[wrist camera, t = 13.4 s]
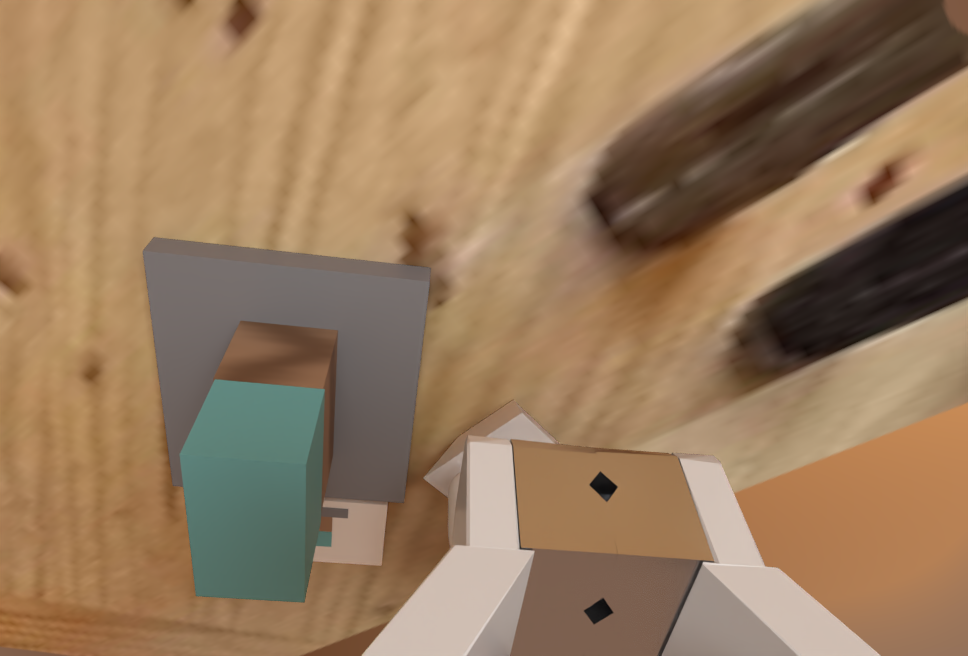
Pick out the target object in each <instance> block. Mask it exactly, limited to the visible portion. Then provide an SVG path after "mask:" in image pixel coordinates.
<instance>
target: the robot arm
mask: <svg viewBox="0 0 968 656" xmlns="http://www.w3.org/2000/svg"><path fill="white" fill-rule="evenodd" d="M361 656H881V655H879V654H878V653H877V652H876V651H875V650H874V649H872V648H871V647H870V646H869V645H868V644H867V643H865V642H864V641H863V640H862V639H861V638H860V637H858V636H857V635H856V634H855V633H854V632H852V631H851V630H850V629H849V628H848V627H847V626H846V625H844V624H843V623H842V622H841V621H840V620H839V619H837V618H836V617H835V616H834V615H833V614H832V613H830V612H829V611H828V610H827V609H826V608H825V607H823V606H822V605H821V604H820V603H819V602H818V601H816V600H815V599H814V598H813V597H812V596H811V595H809V594H808V593H807V592H806V591H805V590H804V589H802V588H801V587H800V586H799V585H798V584H796V583H795V582H794V581H793V580H792V579H791V578H790V577H788V576H787V575H786V574H785V573H784V572H783V571H781V570H780V569H779V568H773V567H765V565H764V562H763V560H762V558H761V556H760V553H759V551H758V549H757V546H756V544H755V541H754V539H753V537H752V535H751V532H750V530H749V528H748V525H747V523H746V521H745V519H744V516H743V514H742V512H741V509H740V507H739V505H738V502H737V500H736V497H735V495H734V493H733V490H732V488H731V486H730V483H729V481H728V479H727V477H726V474H725V472H724V470H723V467H722V465H721V463H720V461H719V460H718V459H717V458H716V457H714V456H713V455H698V454H682V453H672V454H669V453H659V452H646V451H632V450H619V449H606V448H592V447H582V446H572V445H563V444H554V443H544V442H535V441H525V440H516V439H510V441H509V440H508V439H499V438H489V437H480V436H471V435H468V436H467V438H466V441H465V445H464V452H463V459H462V465H461V472H460V479H459V485H458V492H457V499H456V507H455V517H454V526H453V536H452V547H451V548H450V549H449V550H448V552H447V553H446V554H445V555H444V557H443V558H442V559H441V560H440V561H439V563H438V564H437V565H436V566H435V567H434V569H433V570H432V571H431V572H430V573H429V575H428V576H427V577H426V578H425V579H424V581H423V582H422V583H421V584H420V585H419V587H418V588H417V589H416V590H415V591H414V593H413V594H412V595H411V596H410V597H409V599H408V600H407V601H406V602H405V603H404V605H403V606H402V607H401V608H400V609H399V611H398V612H397V613H396V614H395V615H394V617H393V618H392V619H391V620H390V621H389V623H388V624H387V625H386V626H385V628H384V629H383V630H382V631H381V632H380V634H379V635H378V636H377V637H376V638H375V640H374V641H373V642H372V643H371V644H370V646H369V647H368V648H367V649H366V650H365V652H364V653H363V654H362V655H361Z"/></svg>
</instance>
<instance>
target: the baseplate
mask: <svg viewBox="0 0 968 656" xmlns="http://www.w3.org/2000/svg"><path fill="white" fill-rule="evenodd" d="M143 257H144V264H145V272H146V280H147V288H148V296H149V303H150V311H151V319H152V327H153V335H154V342H155V350H156V358H157V366H158V374H159V381H160V389H161V397H162V405H163V413H164V420H165V428H166V436H167V444H168V452H169V459H170V467H171V475H172V483H173V486H180V487H183V480H182V471H181V462H180V453H181V450H182V448H183V446H184V444H185V442H186V440H187V438H188V435H189V433H190V431H191V429H192V427H193V425H194V423H195V421H196V418H197V416H198V414H199V412H200V410H201V408H202V406H203V404H204V401H205V399H206V397H207V395H208V393H209V391H210V389H211V387H212V384H213V378H214V376H215V374H216V371H217V369H218V367H219V365H220V363H221V361H222V359H223V357H224V355H225V352H226V350H227V348H228V346H229V344H230V342H231V340H232V338H233V336H234V333H235V331H236V329H237V327H238V325H239V323H240V321H250V322H260V323H270V324H280V325H290V326H300V327H310V328H320V329H330V330H338V341H337V366H336V392H335V417H334V443H333V458H332V463H331V468H330V473H329V478H328V483H327V487H326V492H325V497H329V498H342V499H356V500H369V501H383V502H396V503H404V498H405V489H406V481H407V472H408V464H409V455H410V446H411V438H412V429H413V421H414V412H415V404H416V395H417V387H418V378H419V370H420V361H421V353H422V344H423V336H424V327H425V319H426V310H427V302H428V293H429V284H430V270H431V268H428V267H418V266H409V265H400V264H391V263H382V262H373V261H364V260H355V259H346V258H337V257H328V256H319V255H309V254H300V253H291V252H282V251H273V250H264V249H255V248H246V247H237V246H228V245H219V244H210V243H201V242H191V241H182V240H173V239H164V238H155V237H154V238H153V239H152V240H151V241H150V243H149V244H148V245H147V246H146V247H145V249H144V250H143Z"/></svg>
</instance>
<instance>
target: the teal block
mask: <svg viewBox="0 0 968 656" xmlns="http://www.w3.org/2000/svg"><path fill="white" fill-rule="evenodd" d="M324 402H325V389H316V388H305V387H294V386H283V385H272V384H261V383H250V382H239V381H228V380H217V379H215V380H214V382H213V384H212V387H211V389H210V391H209V393H208V395H207V397H206V399H205V401H204V404H203V406H202V408H201V410H200V412H199V414H198V416H197V418H196V421H195V423H194V425H193V427H192V429H191V431H190V433H189V435H188V438H187V440H186V442H185V444H184V446H183V448H182V450H181V453H180V462H181V471H182V480H183V488H184V497H185V505H186V514H187V523H188V531H189V540H190V548H191V557H192V566H193V574H194V583H195V591H196V596H202V597H219V598H236V599H253V600H270V601H287V602H305V597H306V592H307V587H308V582H309V577H310V573H311V568H312V563H313V558H314V553H315V548H316V543H317V538H318V533H319V528H320V524H321V502H322V469H323V436H324Z"/></svg>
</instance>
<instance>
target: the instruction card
mask: <svg viewBox="0 0 968 656" xmlns="http://www.w3.org/2000/svg"><path fill="white" fill-rule="evenodd" d="M387 507H388V502H383V501H369V500H356V499H342V498H329V497H324V502H323V507H322V512H321V524H320V528H319V533H318V538H317V543H316V548H315V553H314V558H313V561H315V562H331V563H347V564H362V565H378V566H382V557H383V547H384V537H385V527H386V517H387Z"/></svg>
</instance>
